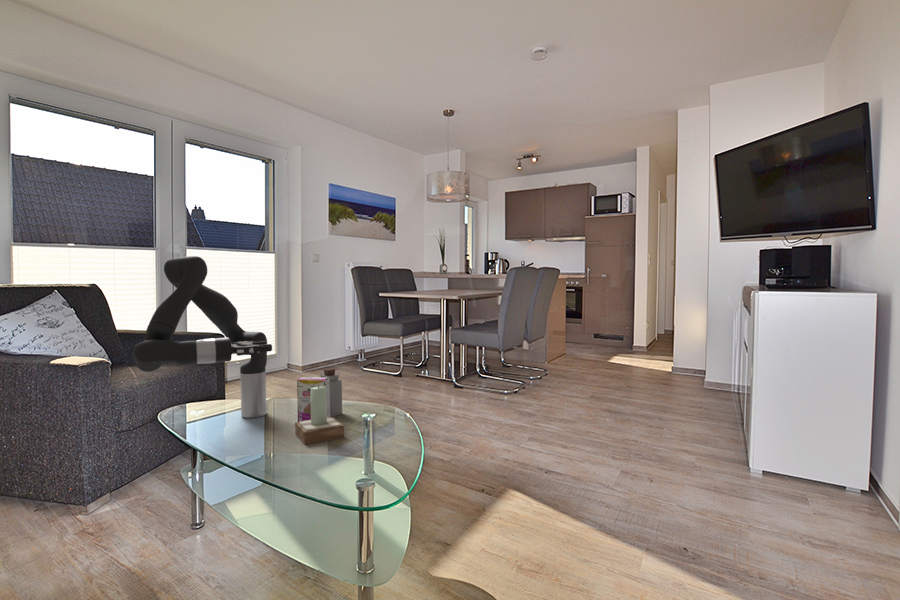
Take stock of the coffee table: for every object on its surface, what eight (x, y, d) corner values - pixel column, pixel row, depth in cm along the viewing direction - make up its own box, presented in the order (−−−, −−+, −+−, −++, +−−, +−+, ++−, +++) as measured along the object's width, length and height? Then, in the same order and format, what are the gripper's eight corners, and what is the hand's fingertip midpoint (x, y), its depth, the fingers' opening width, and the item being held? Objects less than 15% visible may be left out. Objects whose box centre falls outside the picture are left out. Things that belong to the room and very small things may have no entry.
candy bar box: (297, 422, 170) (296, 379, 169) (302, 419, 174) (301, 376, 174) (326, 423, 168) (325, 379, 168) (330, 419, 173) (330, 376, 173)
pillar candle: (309, 422, 155) (308, 384, 155) (324, 420, 158) (323, 382, 158) (313, 426, 151) (312, 387, 151) (328, 423, 153) (328, 385, 153)
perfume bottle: (334, 410, 186) (333, 367, 185) (342, 414, 181) (341, 369, 180) (318, 414, 181) (317, 369, 180) (326, 417, 176) (325, 371, 175)
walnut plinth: (295, 433, 157) (295, 421, 157) (332, 427, 163) (332, 415, 163) (304, 444, 146) (304, 431, 145) (344, 437, 152) (343, 424, 152)
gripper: (214, 340, 133) (273, 336, 141) (211, 336, 145) (265, 332, 153) (215, 366, 133) (274, 360, 142) (212, 359, 145) (265, 354, 154)
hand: (269, 346), depth 147 cm, fingers open, 8 cm apart
